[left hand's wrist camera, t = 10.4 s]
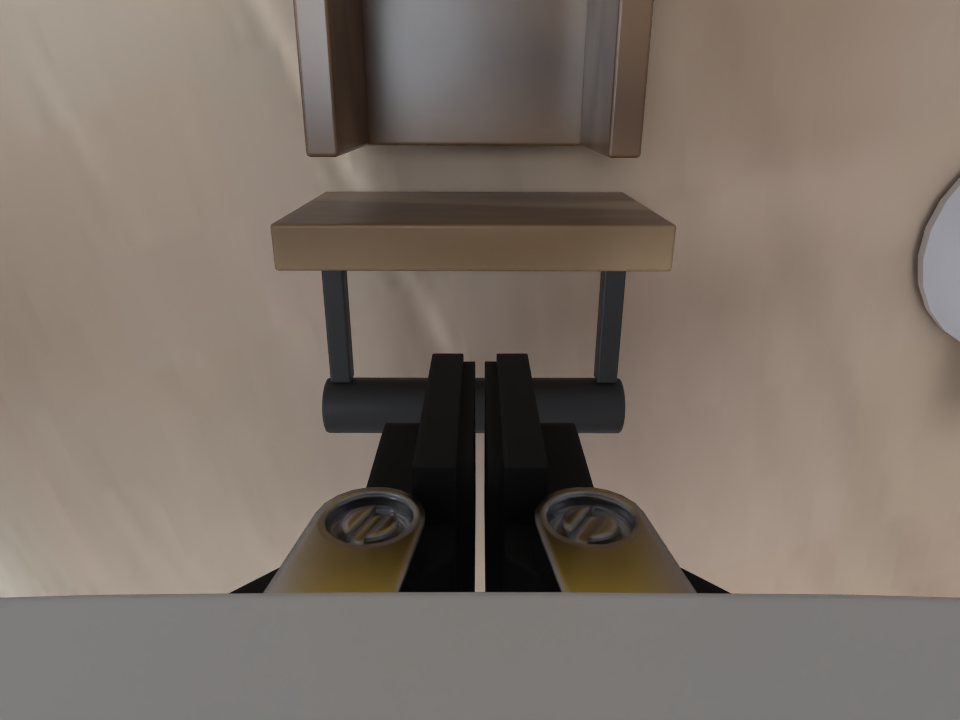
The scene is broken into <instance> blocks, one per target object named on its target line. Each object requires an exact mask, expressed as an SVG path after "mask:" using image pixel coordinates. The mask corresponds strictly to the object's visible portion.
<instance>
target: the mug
mask: <svg viewBox="0 0 960 720" xmlns="http://www.w3.org/2000/svg"><path fill="white" fill-rule="evenodd" d="M918 286H919V289H920V292H921V295H922V298H923V302H924V305H925V308H926V310H927V311H928V313H929V314H930V315H931V317H932V318H933V320H934V321H935V322H936V324H937V325H938V326H939V328H940V329H941V330H943V331H944V332H946V333H947V334H949V335H950V336H952V337H953V338H955V339H956V340H957V341H959V342H960V177H959V178H958V180H957V181H956V182H955V183H954V184H953V186H952V187H951V188H950V189H949V190H948V191H947V193H946V194H945V195H944V196H943V197H942V198H941V200H940V201H939V203H938V205H937V207H936V209H935V211H934V212H933V214H932V216H931V218H930V220H929V222H928V224H927V225H926V227H925V231H924V234H923V238H922V242H921V246H920V249H919V253H918Z"/></svg>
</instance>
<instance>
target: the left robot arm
mask: <svg viewBox="0 0 960 720" xmlns="http://www.w3.org/2000/svg"><path fill="white" fill-rule="evenodd" d="M475 509H476V483H475V362H463V354H433V355H432V360H431V365H430V371H429V376H428V382H427V387H426V392H425V398H424V403H423V408H422V414H421V419H420V423H386V424H385V426H384V429H383V432H382V436H381V439H380V443H379V446H378V449H377V453H376V456H375V460H374V463H373V467H372V470H371V473H370V477H369V480H368V484H367V487H366V488H362V489H356V490H351V491H349V492H346V493H343V494H340V495H337V496H336V497H334V498H332V499H331V500H329V501H328V502H326V503H324V505H323V506H322V507H321V508H320V509H319V510H318V511H317V512H316V513H315V515H314V516H313V518H312V519H311V521H310V522H309V524H308V525H307V527H306V528H305V530H304V531H303V533H302V535H301V536H300V538H299V539H298V541H297V542H296V544H295V545H294V547H293V548H292V550H291V551H290V553H289V554H288V556H287V557H286V559H285V560H284V562H283V563H282V565H281V566H280V568H278V569H276V570H274V571H272V572H270V573H268V574H266V575H264V576H262V577H260V578H258V579H256V580H254V581H252V582H250V583H248V584H247V585H245V586H243V587H241V588H239V589H237V590H235V591H233V592H231V593H229V594H148V595H78V596H46V597H14V598H0V720H960V598H949V597H912V596H876V595H830V594H731V593H729V592H727V591H725V590H723V589H721V588H719V587H717V586H715V585H713V584H712V583H710V582H708V581H706V580H704V579H702V578H700V577H698V576H696V575H694V574H692V573H690V572H688V571H686V570H684V569H682V568H680V566H679V565H678V563H677V562H676V560H675V559H674V557H673V556H672V554H671V553H670V551H669V550H668V548H667V547H666V545H665V544H664V542H663V541H662V539H661V538H660V536H659V535H658V533H657V531H656V530H655V528H654V527H653V525H652V524H651V522H650V521H649V519H648V518H647V516H646V515H645V513H644V512H643V511H642V510H641V509H640V508H639V507H638V506H637V505H636V503H634V502H632V501H631V500H629V499H628V498H626V497H624V496H623V495H620V494H617V493H614V492H611V491H609V490H604V489H598V488H594V487H593V484H592V480H591V477H590V473H589V470H588V467H587V463H586V460H585V456H584V453H583V449H582V446H581V443H580V439H579V436H578V432H577V429H576V426H575V424H574V423H540V419H539V414H538V408H537V403H536V398H535V392H534V387H533V382H532V376H531V371H530V365H529V360H528V355H527V354H497V362H485V483H484V509H485V592H475Z"/></svg>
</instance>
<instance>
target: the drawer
mask: <svg viewBox="0 0 960 720" xmlns="http://www.w3.org/2000/svg"><path fill="white" fill-rule="evenodd" d="M653 2H654V0H293V4H294V16H295V27H296V39H297V50H298V62H299V73H300V85H301V96H302V108H303V119H304V131H305V142H306V153H307V155H308V156H310V157H337V156H339V155H342V154H344V153H347V152H350V151H352V150H355V149H357V148H360V147H363V146H365V145H552V146H584V147H587V148H589V149H591V150H594V151H596V152H599V153H601V154H603V155H606V156H608V157H611V158H637V157H639V156H640V154H641V142H642V130H643V119H644V107H645V95H646V84H647V72H648V60H649V48H650V37H651V25H652V13H653ZM675 231H676V227H675V225H674V224H672V223H671V222H669V221H667V220H666V219H664V218H663V217H661V216H659V215H658V214H656V213H655V212H653V211H651V210H650V209H648V208H647V207H645V206H643V205H642V204H640V203H639V202H637V201H635V200H634V199H632V198H631V197H629V196H627V195H626V194H624V193H603V192H325V193H324V194H322V195H320V196H319V197H317V198H315V199H314V200H312V201H310V202H308V203H307V204H305V205H303V206H302V207H300V208H298V209H297V210H295V211H293V212H292V213H290V214H288V215H286V216H285V217H283V218H281V219H280V220H278V221H276V222H275V223H273V224H271V234H272V243H273V252H274V262H275V268H276V270H282V271H322V282H323V294H324V306H325V317H326V329H327V341H328V353H329V365H330V377H331V378H328V379H327V381H326V383H325V386H324V391H323V399H322V414H323V422H324V426H325V429H326V431H327V432H329V433H382V432H383V429H384V426H385V424H386V423H420V419H421V414H422V408H423V403H424V398H425V392H426V387H427V382H428V378H353V376H354V369H353V355H352V340H351V326H350V312H349V298H348V283H347V271H601V279H600V294H599V308H598V323H597V337H596V351H595V366H594V377H595V378H532V382H533V387H534V392H535V398H536V403H537V408H538V414H539V419H540V423H574V424H575V426H576V429H577V432H578V433H619V432H621V430H622V428H623V425H624V419H625V395H624V389H623V385H622V382H621V380H620V379H618V378H617V372H618V360H619V348H620V336H621V324H622V312H623V300H624V288H625V276H626V271H670V270H671V268H672V259H673V250H674V241H675ZM475 433H485V378H475Z"/></svg>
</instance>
